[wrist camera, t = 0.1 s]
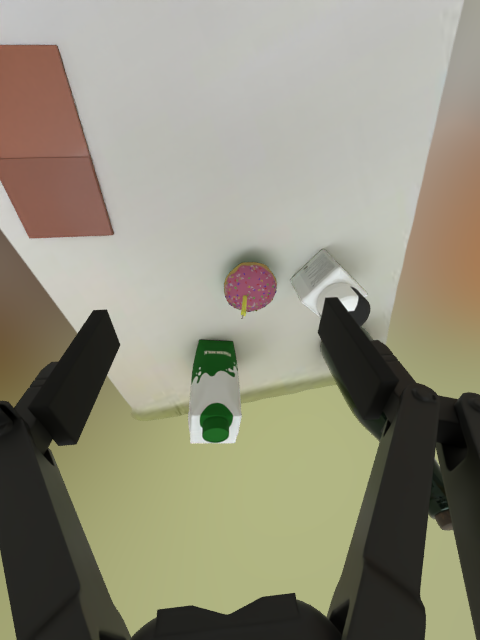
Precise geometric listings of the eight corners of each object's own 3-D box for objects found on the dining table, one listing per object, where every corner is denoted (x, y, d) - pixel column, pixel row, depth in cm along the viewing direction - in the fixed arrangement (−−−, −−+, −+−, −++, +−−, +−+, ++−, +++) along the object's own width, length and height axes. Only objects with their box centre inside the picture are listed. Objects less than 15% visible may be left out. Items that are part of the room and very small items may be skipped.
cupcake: (232, 302, 48) (237, 344, 39) (215, 261, 43) (215, 299, 34) (276, 287, 47) (292, 327, 37) (264, 244, 42) (279, 278, 33)
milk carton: (237, 338, 53) (247, 426, 37) (232, 368, 59) (239, 458, 43) (194, 335, 52) (185, 426, 36) (193, 367, 57) (184, 458, 41)
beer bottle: (361, 355, 60) (481, 535, 33) (317, 361, 60) (400, 546, 33) (371, 319, 53) (527, 504, 27) (321, 325, 53) (427, 518, 27)
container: (348, 273, 47) (387, 314, 36) (315, 302, 50) (343, 347, 39) (322, 247, 43) (357, 284, 33) (289, 279, 46) (310, 322, 36)
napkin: (-63, 45, 27) (-68, 44, 26) (57, 45, 28) (54, 44, 27) (31, 237, 39) (29, 238, 38) (113, 233, 39) (112, 235, 39)
